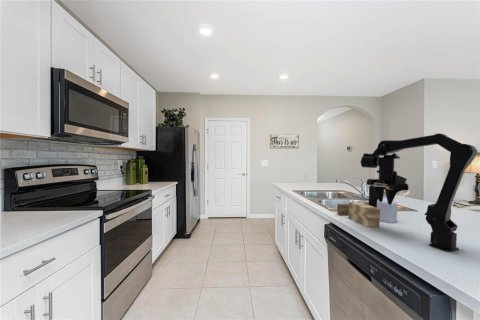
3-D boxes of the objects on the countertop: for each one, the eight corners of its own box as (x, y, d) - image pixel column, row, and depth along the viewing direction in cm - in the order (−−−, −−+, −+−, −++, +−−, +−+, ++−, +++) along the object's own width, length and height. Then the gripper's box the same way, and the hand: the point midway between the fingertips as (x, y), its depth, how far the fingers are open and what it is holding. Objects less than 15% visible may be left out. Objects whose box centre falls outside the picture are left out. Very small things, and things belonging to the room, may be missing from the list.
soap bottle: (372, 219, 124) (374, 174, 124) (383, 217, 128) (385, 173, 128) (389, 223, 116) (391, 175, 116) (400, 221, 120) (402, 175, 119)
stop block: (356, 215, 131) (357, 205, 131) (340, 215, 130) (340, 205, 130) (353, 214, 134) (353, 204, 134) (337, 214, 133) (337, 204, 133)
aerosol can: (367, 215, 133) (369, 180, 132) (367, 212, 140) (368, 179, 140) (384, 217, 129) (385, 181, 129) (383, 213, 136) (384, 180, 136)
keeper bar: (379, 227, 110) (380, 209, 110) (367, 227, 109) (368, 209, 109) (358, 218, 126) (359, 202, 126) (348, 218, 125) (348, 202, 125)
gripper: (421, 170, 94) (419, 208, 94) (387, 167, 113) (386, 199, 113) (396, 169, 93) (394, 208, 93) (366, 167, 112) (365, 199, 112)
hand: (385, 203), depth 103 cm, fingers open, 5 cm apart
